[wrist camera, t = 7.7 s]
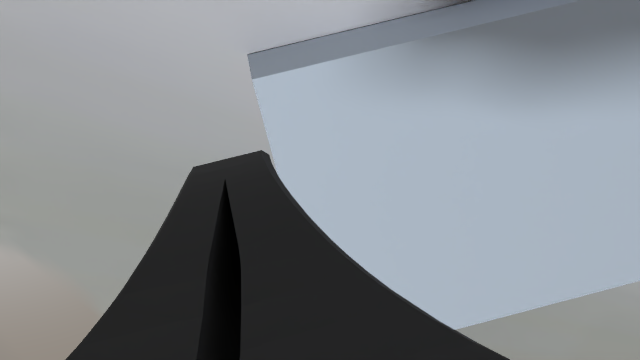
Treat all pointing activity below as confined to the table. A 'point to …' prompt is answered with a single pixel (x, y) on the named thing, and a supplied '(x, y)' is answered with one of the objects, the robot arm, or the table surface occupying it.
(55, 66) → the table surface
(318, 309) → the robot arm
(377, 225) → the light blue flat slab
